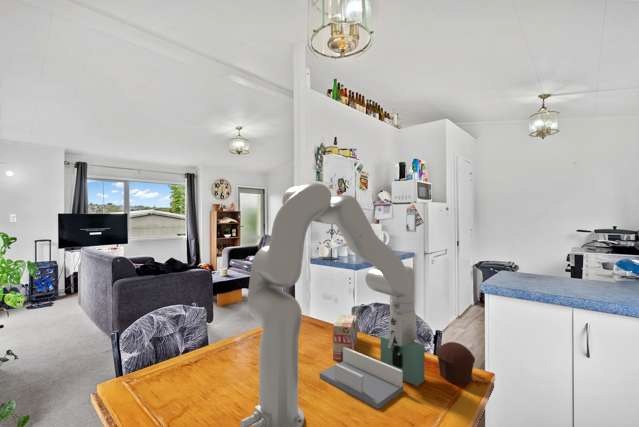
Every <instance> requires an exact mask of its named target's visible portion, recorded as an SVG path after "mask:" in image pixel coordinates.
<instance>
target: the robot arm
mask: <svg viewBox="0 0 639 427" xmlns="http://www.w3.org/2000/svg"><path fill="white" fill-rule="evenodd" d="M313 222H315V223H320V224H325V225H336V227H337V229H338V230H339V232H340V233H341V235H342V237H343V239H344V241H345V243H346V245H347V246H348V248H349V249H350V251H351V252H352V253H353V254H354V255H356V256H357V257H358V258H360V259H362V260H364V261H365V262H367V263H369V265H370V264H371V265H372V266H373V268H371V269H369V270H368V271H367V272H366V274H365V284H366V285H367V287H368V288H369V289H371V290H372V291H375V292H377V293H381V294H384V295H387V296H389V317H388V330H387V334H388V339H389V343H388V348H389V349H390V350H391V352H392V364H393V365H394V366H396V367H399V368H402V355H401V350H402V347H403V346H405V345H407V344H409V343H411V342H413V341H414V342H415V341H416V340H417V337H418V331H417V330H418V327H417V315H416V311H415V270H414V269H413V268H412V267H410V266H407V265H406V266H405V265H404V263H403V261H402V259H401V258H400V257H399V256H398V254H397V253H396V252H395V251H393V250H392V249H391V247H389V246H388V245H387V244H386V243H385V242H384V241H383V240H381V239H380V238H379V237H378V236H377V234H376V233H375V231H374V229H373V227H372V226H371V223H370V221H369V219H368V217H367V216H366V214H365V212H364V211H363V207H362V206H361V205H360V203H359V201H358V200H357V199H356V198H355V196H352V195H350V194H349V195H348V194H340V195H332V192H331V190H330V189H329V188H328V186H326V185H325V184H322V183H314V182H313V183H306V184H302V185H296V186H295V185H294V186H292V187H290V188H288V189H287V190H286V191H285V192H284V194H283V196H282V206H281V207H280V208H279V209H278V211H277V213H276V215H275V217H274V219H273V223H272V229H271V235H270V239H269V245H266V246H263V247H261V248H260V249H259V250H258V251H257V252H256V253H255V255H254V257H253V260H252V263H251V268H250V276H249V283H248V292H247V302H246V303H247V309H248V312H249V314H250V316H251V317H252V318H253V319H254V320H255V321H256V322H258V323H259V325H261V328H262V330H261V335H260V340H259V346H258V405H256V406H254V412H252V413H251V415H250V416H247V417H245V418H243V419H241V420H240V422H239V424H240V427H303V426H304V424H305V413H304V411H303V409H302V408H300V407H299V338H300V331H301V325H302V319H303V317H302V315H303V312H302V308H301V305H300V303H299V302H298V300H297V299H296V298H295V297H294V296H292V295H291V294H290V293H287V292H286V291H283V288H291V287H292V286H294V285H296V284H297V282H298V281H299V280H300V277H301V274H302V268H303V267H302V266H303V259H304V258H303V256H304V250H305V240H306V236H307V231H308V228H309V227H310V225H311V224H312V223H313ZM395 342H397V343H395ZM395 346H398V349H397V348H396V347H395Z"/></svg>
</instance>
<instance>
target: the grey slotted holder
mask: <svg viewBox="0 0 639 427" xmlns="http://www.w3.org/2000/svg"><path fill="white" fill-rule="evenodd" d="M318 373H319V374H318V375H319V378H320V379H321V380H323V381H325V382H327V383H328V384H331V385H333V386H334V387H336V388H338V389H340V390H342V391H344V392H345V393H347V394H349V395H351V396H353V397H355V398H356V399H358V400H360V401H362V402H364V403H366V404H367V405H369V406H371V407H373V408H375V409H377V410H379V409H381V408H382V407H383V406H385V405H386V404H388V403H389V402H390V401H392V400H393V399H394V398H395V397H397V396H398V395H400V394H401V393H402V392H404V389H405V388H404V385H403V381H404V380H403V370H400V369H398V368H395V367H393V366H390V365H388V364H386V363H383V362H381V360H378V359H375V358H373V357H370V356H367V355H365V354H364V353H361V352H358V351H356V350H354V351H353V350H351V349H349V348H346V347H344V348H343V361H341V362H338V363H335V364H334V365H332V366H331V367H328V368H326V369H324V370H323V371H320V372H318Z"/></svg>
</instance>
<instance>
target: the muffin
mask: <svg viewBox="0 0 639 427" xmlns="http://www.w3.org/2000/svg"><path fill="white" fill-rule="evenodd" d="M435 355H436V357H437V361H438V367H439V375H440V377H441V378H442V379H444V380H445V381H446V382H449V383H453V385H454V384H455V385H456V384H457V385H466V384H468V383H470V382H471V380H472V375H473V368H474V364H475V362H476V357H475V356H474V355H473V353H472V352H471V351H470V350H469V348H467V347H466V346H465V345H464V344H462V343H459V342H455V341H450V342H449V341H448V342H446V343H443V344H441V345H440V346H439V347H438V349H436V351H435Z"/></svg>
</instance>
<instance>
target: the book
mask: <svg viewBox="0 0 639 427" xmlns="http://www.w3.org/2000/svg"><path fill="white" fill-rule="evenodd" d="M388 343H389V339H388V333H385V334H384V335H381V336H380V361H381V362H383V363H386V364H388V365H390V366H393V367H395V368H398V369H400V370H403V381H404V382H406V383H409V384H411V385H412V386H413V385H414V386H416V387H419V385H421V384H422V383H424V382H425V380H426V379H425V375H426V374H425V372H426V371H425V368H426V367H425V364H426V363H425V360H426V359H425V358H426V357H425V355H426V354H425V351H426V350H425V346H426V345H425V344H423V343H421V342H420V343H419V342H418V341H415V340H414V341H413V342H411V343H409V344H407V345H405V346H403V347H402V350H401V355H402V368H399V367H396V366H394V365H393V364H392V352H391V350H390V349H389V348H388ZM395 343H397V342H395ZM395 347H396V348H397V349H398V346H395Z"/></svg>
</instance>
